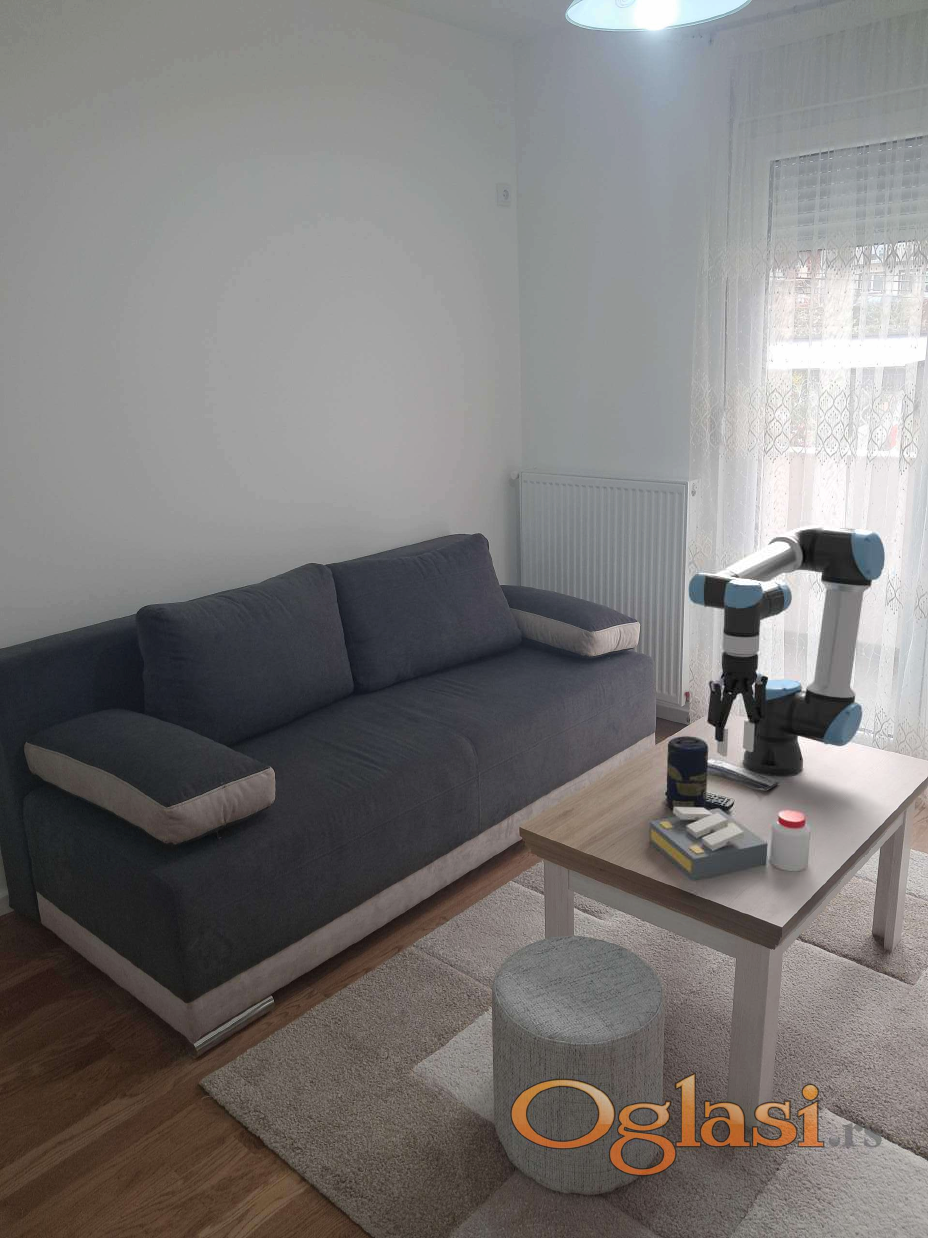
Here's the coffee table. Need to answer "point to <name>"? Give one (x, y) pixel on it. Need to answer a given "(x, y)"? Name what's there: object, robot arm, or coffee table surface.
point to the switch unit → (706, 848)
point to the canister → (687, 772)
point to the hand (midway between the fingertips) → (734, 751)
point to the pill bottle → (790, 841)
